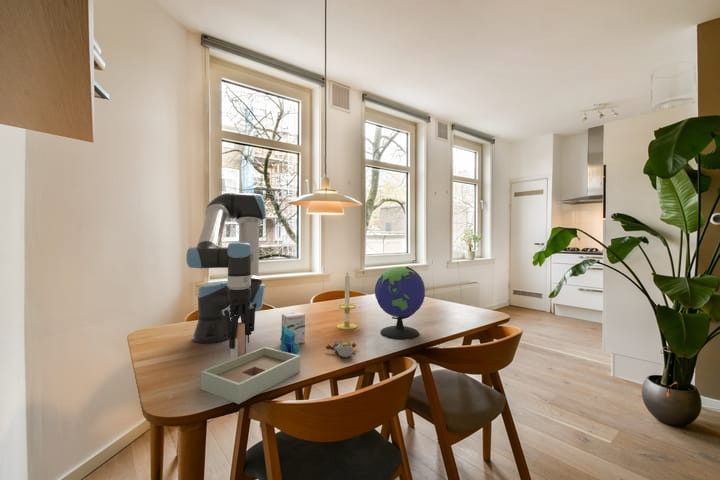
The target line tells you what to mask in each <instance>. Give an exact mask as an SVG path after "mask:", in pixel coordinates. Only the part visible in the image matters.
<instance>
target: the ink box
mask: <svg viewBox="0 0 720 480" xmlns="http://www.w3.org/2000/svg"><path fill="white" fill-rule="evenodd" d="M283 325H284V326H285V327H287V328H288V329H290V330H291V331H292V332H294V333H295V334H296V335H295V340H294V343H295V344H296V345H297V344H304V343H305V341H306V314H305V313H304V312H302V311H295V312H287V313H286V312H284V313H282V314H281V330H282V329H283ZM280 342H281V341H280ZM281 344H282V342H281Z"/></svg>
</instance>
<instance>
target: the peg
mask: <svg viewBox="0 0 720 480" xmlns="http://www.w3.org/2000/svg"><path fill="white" fill-rule="evenodd" d="M236 338H237V339H238V357H240V356H242V355H245V323H243V322H241V321H238V326H237V333H236ZM233 359H235V358H233Z"/></svg>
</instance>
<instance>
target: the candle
mask: <svg viewBox="0 0 720 480" xmlns="http://www.w3.org/2000/svg"><path fill="white" fill-rule="evenodd" d="M337 307H338V308H339V309H342V310H344V312H343V313H344V321H343V323H339V324H337V325H336V328H337V329H339V330H346V331H348V330H354V329H357V328H358V325H357V324H355V323H350V321H351V320H350V319H351V317H350V315H351V313H350V312H351V311H350V310H352V309H355V308H356V307H357V306H356V305H355V304H351V303H350V274H349V272H348V271H346V274H345V275H344V304H339V305H337Z"/></svg>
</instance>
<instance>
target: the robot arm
mask: <svg viewBox="0 0 720 480" xmlns="http://www.w3.org/2000/svg"><path fill="white" fill-rule="evenodd" d="M205 216H206V217H205V220H204V223H203V227H202V230H201V233H200V236H199V239H198V242H197V246H193V247H189V248H188V249H187V250H186V265H187V266H188V268H191V269H217V268H219V269H224V268H225V269H226V268H227V280H226V281H225V280H224V281H215V282H209V283H206V284H203V285H201V286H200V287H199V288H198V295H197V308H198V309H197V312H198V313H197V316H198V317H197V324H196V327H195V329H194V333H193V342H195V343H198V344H199V343H200V344H211V343H212V344H213V343H221V342H223V341H228V348H229V349H230V358H232V359H234V358H237V357H238V339H237V338H236V333H237V326H238V322H239V319H240V322H243V323H245V354H248V353H249V343H250V336H251V335H252V334H253V332H255V323H256V322H255V321H256V312H259V311H260V310H261V309H262V307H263V303H264V298H265V291H266V284H265V283H263V280H262V278H261V277H260V276H259V270H260V269H259V267H260V266H259V260H260V258H259V256H260V225H262V224H263V222H264V221H263V220H266V219H267V218H266V207H265V200H264V196H263V195H262V194H259V193H244V192H243V193H242V192H240V193H239V192H238V193H237V192H226V193H222V194H220V195H218V196H216V197H215V198H213V199H212V200H211V201H210V202H209V203H208V204H207V207H206V209H205ZM228 219H235V221H236V224H238V225H239V231H238V232H239V233H238V234H239V235H238V242H229V244H228V245H227V246H226V247H223V246H222V247H220V246H221V241H222V236H223V231H224V228H225V224H226V222H227V221H228Z"/></svg>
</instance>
